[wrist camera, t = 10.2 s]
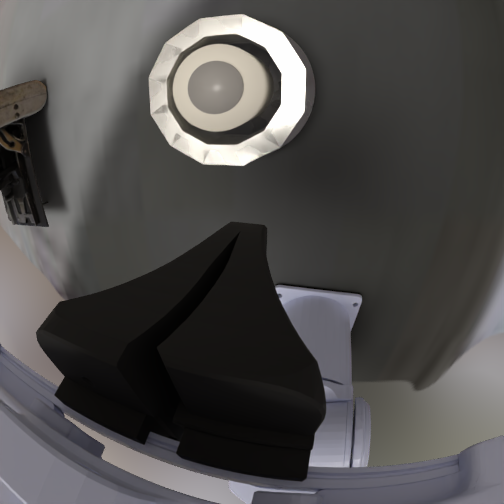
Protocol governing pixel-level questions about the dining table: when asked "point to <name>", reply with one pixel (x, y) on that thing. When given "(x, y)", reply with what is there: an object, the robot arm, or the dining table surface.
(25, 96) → the vintage camera
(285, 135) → the lens barrel
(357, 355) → the dining table surface
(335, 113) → the dining table surface
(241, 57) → the beige short cylinder
